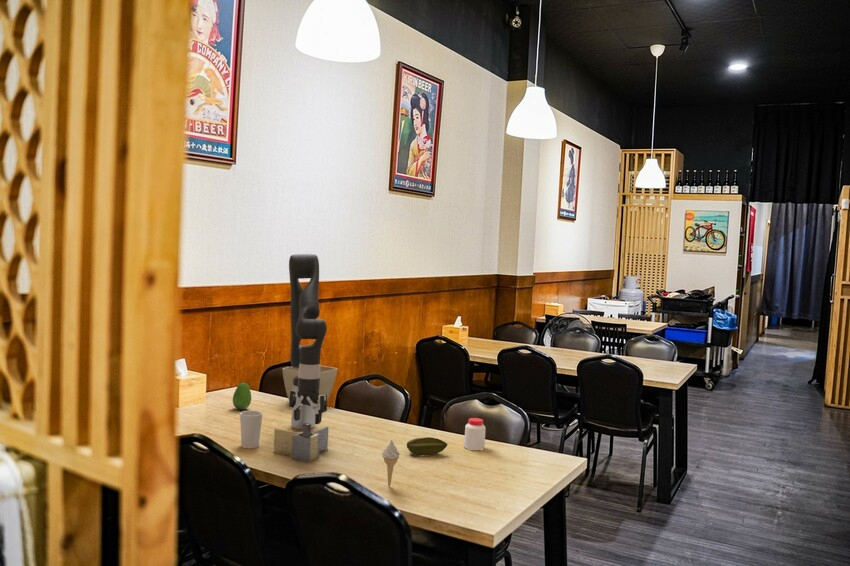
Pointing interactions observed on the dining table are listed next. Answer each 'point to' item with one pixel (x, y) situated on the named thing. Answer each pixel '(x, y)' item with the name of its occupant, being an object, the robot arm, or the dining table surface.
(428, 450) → the fruit
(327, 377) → the flower pot
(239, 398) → the fruit
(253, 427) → the cup
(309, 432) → the hinge pin
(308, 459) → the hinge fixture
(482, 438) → the pill bottle
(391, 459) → the ice cream cone
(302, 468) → the dining table surface
